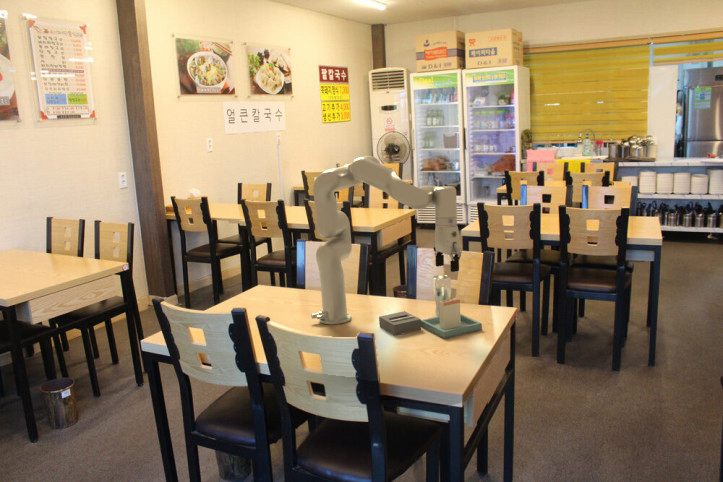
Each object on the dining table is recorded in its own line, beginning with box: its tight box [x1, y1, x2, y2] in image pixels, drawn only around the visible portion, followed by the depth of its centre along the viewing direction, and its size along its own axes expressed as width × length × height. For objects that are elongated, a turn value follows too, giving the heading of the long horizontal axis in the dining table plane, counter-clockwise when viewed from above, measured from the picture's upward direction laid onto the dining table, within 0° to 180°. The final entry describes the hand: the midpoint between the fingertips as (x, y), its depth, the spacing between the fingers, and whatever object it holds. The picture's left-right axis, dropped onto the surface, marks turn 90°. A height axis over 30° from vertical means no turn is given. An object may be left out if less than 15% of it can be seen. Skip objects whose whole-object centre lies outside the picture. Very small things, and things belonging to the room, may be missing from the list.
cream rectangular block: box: [439, 297, 461, 330], centre depth 221 cm, size 7×3×10 cm, turn 115°
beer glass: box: [432, 274, 452, 317], centre depth 237 cm, size 7×7×15 cm
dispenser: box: [378, 310, 422, 337], centre depth 225 cm, size 11×12×4 cm
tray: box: [421, 313, 483, 340], centre depth 221 cm, size 16×16×2 cm
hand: (447, 268), depth 218 cm, fingers open, 9 cm apart
